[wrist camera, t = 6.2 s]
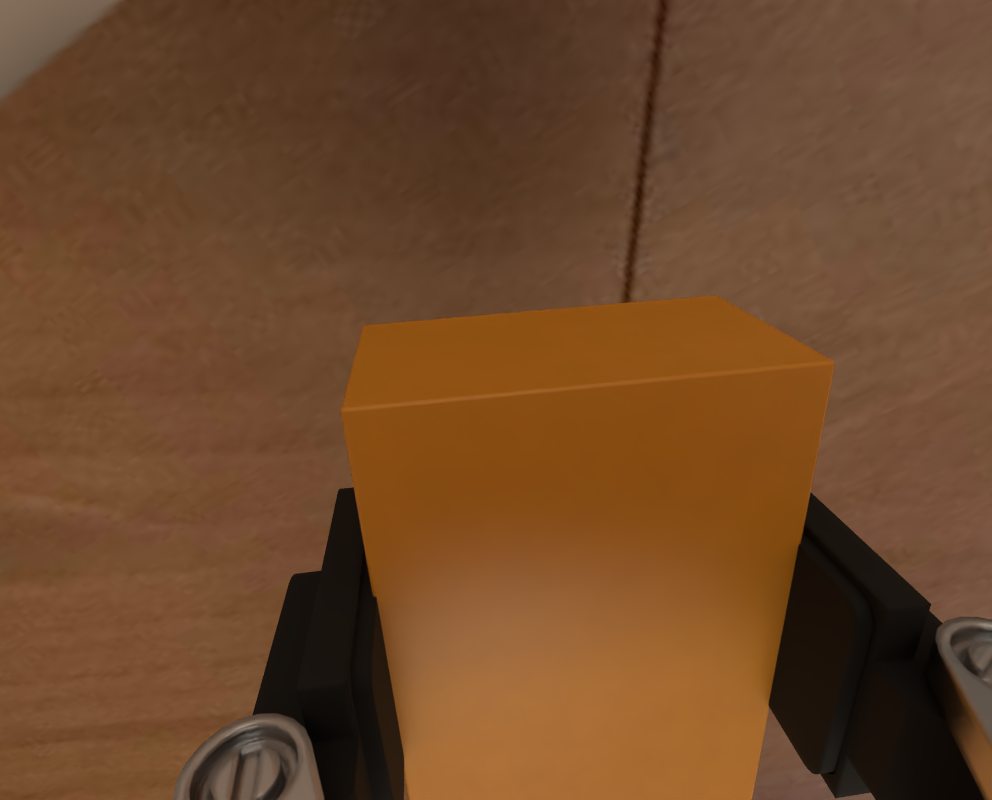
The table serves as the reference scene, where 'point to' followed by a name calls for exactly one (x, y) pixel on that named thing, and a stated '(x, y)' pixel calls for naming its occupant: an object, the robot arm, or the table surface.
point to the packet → (583, 542)
